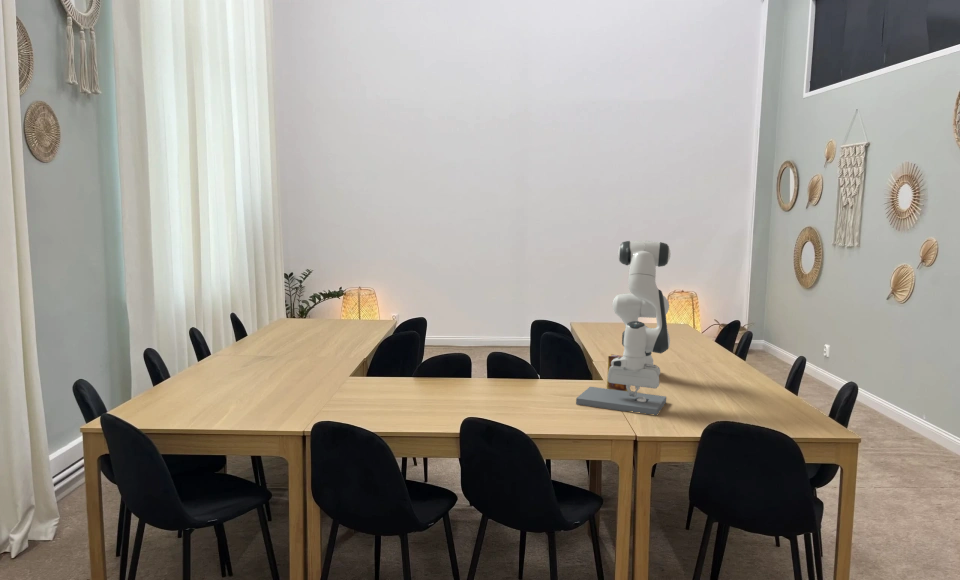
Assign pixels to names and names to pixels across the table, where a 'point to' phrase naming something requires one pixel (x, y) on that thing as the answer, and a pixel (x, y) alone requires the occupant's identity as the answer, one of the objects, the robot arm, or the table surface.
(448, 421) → the table surface
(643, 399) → the steel ball
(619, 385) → the candy box
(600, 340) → the table surface
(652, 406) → the board
